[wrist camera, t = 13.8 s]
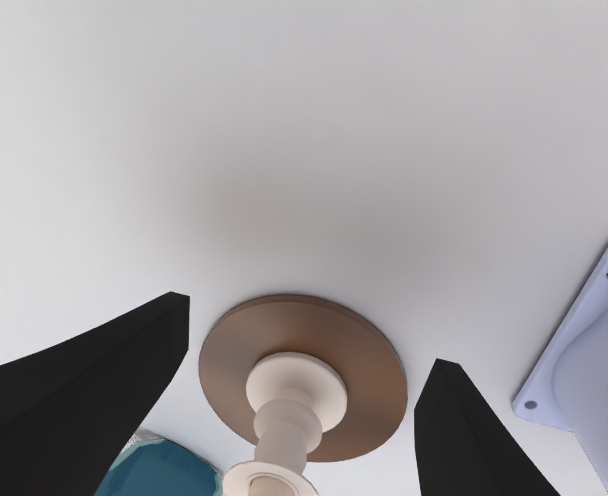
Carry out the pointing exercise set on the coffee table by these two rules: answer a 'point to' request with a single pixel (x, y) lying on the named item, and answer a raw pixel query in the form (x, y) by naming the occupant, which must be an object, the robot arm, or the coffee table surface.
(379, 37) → the coffee table surface
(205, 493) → the sunglasses
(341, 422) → the coaster
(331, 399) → the candle
